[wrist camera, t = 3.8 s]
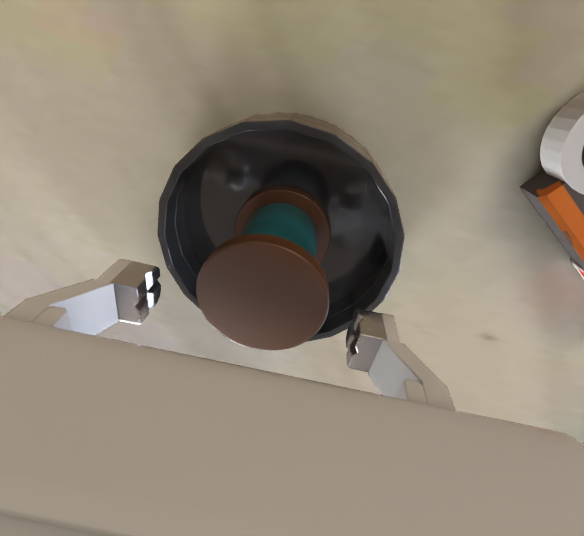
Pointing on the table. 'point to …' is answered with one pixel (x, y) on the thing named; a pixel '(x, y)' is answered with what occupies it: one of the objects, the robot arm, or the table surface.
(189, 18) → the table surface
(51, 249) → the table surface
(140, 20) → the table surface
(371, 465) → the robot arm
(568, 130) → the electronic device
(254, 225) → the spool
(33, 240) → the table surface
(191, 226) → the pan
